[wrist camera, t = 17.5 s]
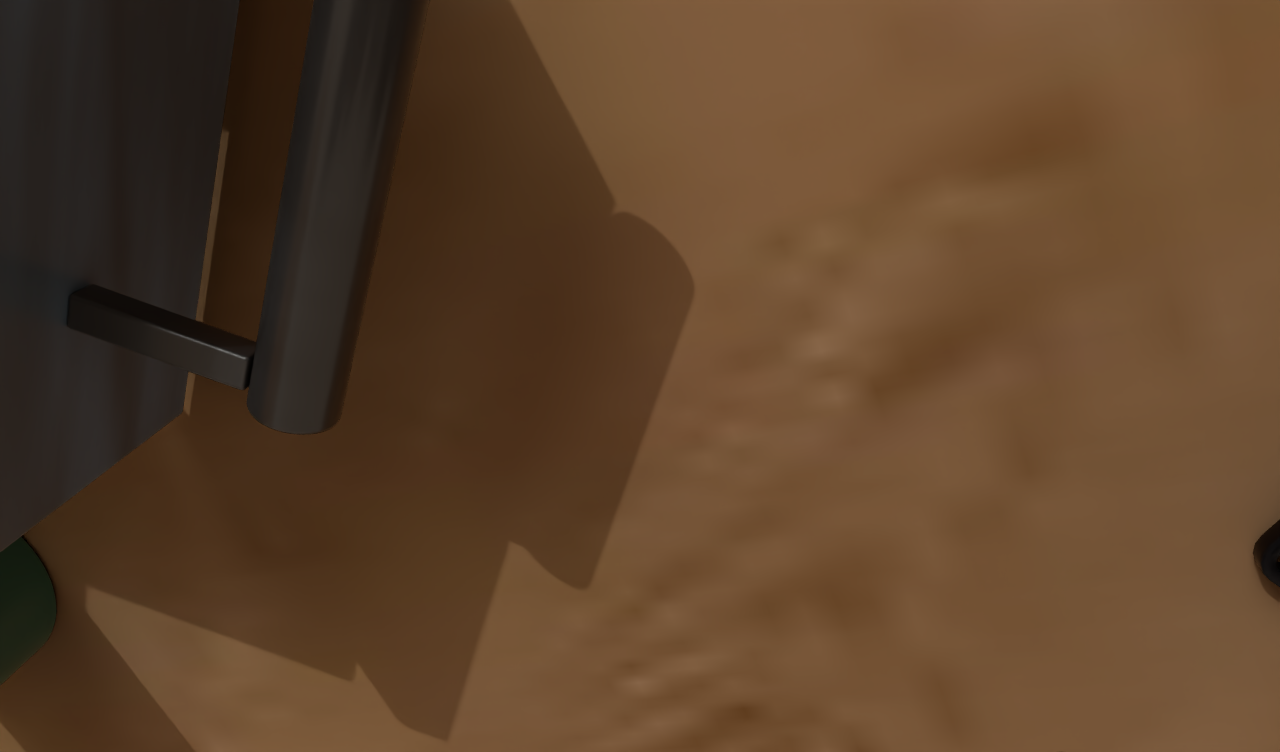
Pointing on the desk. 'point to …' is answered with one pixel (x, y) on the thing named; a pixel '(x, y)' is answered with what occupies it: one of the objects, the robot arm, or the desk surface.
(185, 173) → the drawer
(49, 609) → the tin
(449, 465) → the desk surface
